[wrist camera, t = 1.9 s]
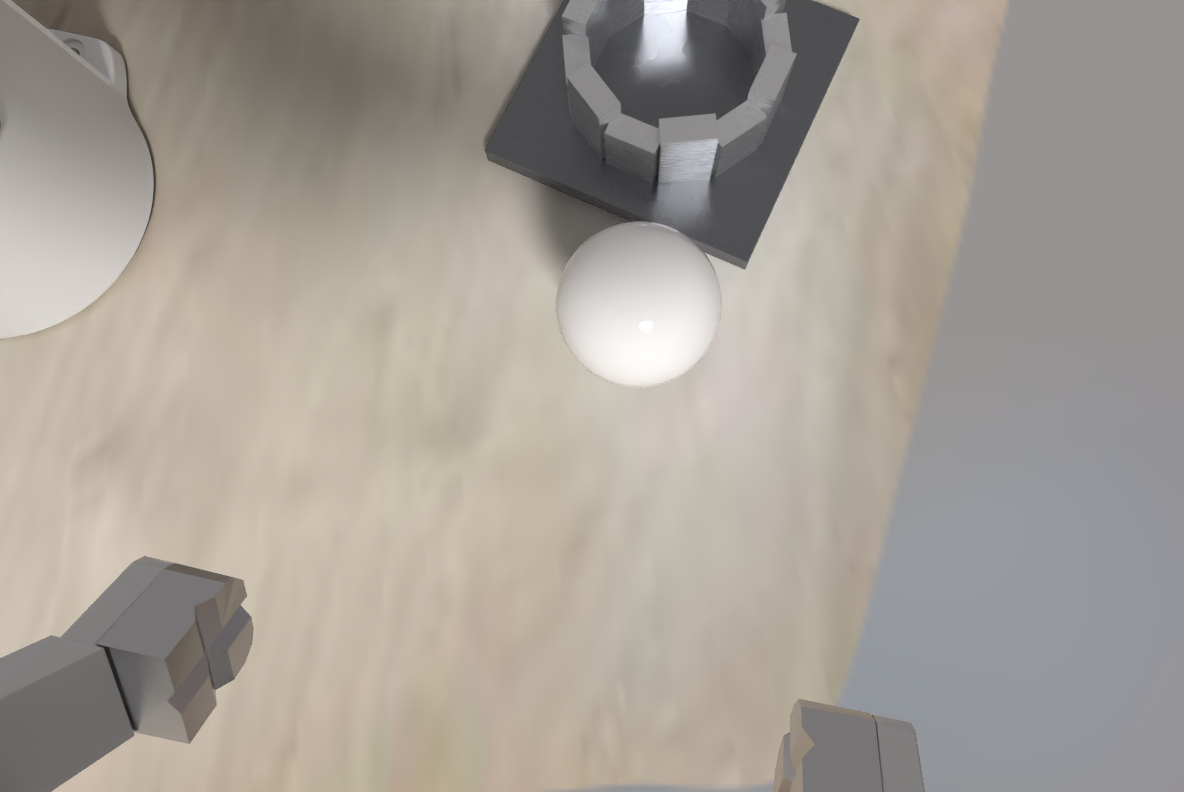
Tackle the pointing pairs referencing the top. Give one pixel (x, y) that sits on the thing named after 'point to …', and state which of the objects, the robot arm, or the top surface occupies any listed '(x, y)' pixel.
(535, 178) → the lamp socket
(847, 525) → the top surface
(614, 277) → the lightbulb
